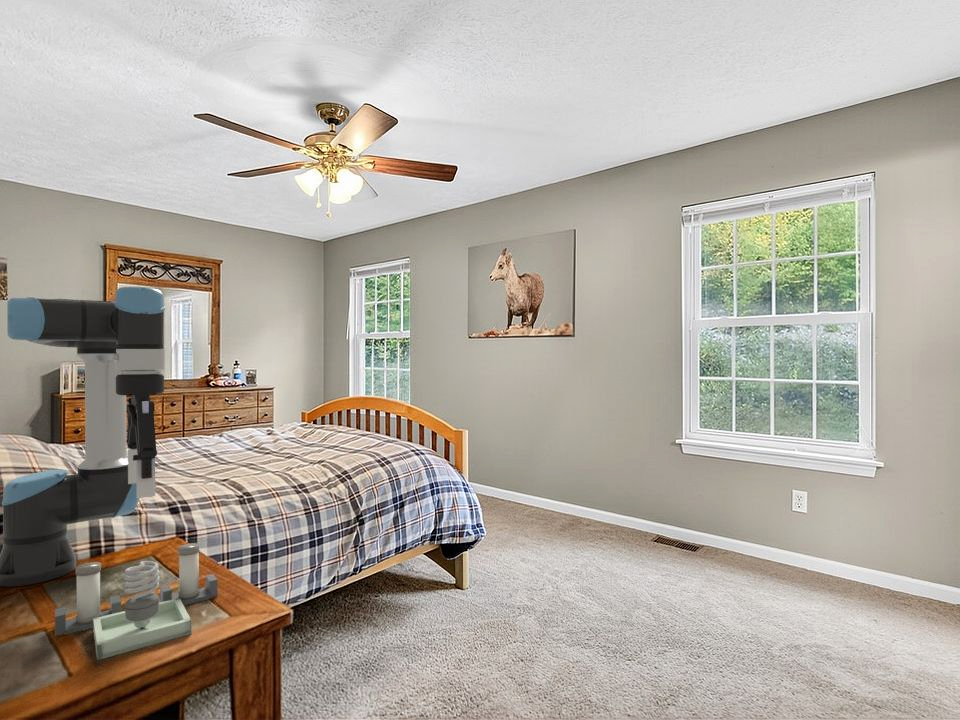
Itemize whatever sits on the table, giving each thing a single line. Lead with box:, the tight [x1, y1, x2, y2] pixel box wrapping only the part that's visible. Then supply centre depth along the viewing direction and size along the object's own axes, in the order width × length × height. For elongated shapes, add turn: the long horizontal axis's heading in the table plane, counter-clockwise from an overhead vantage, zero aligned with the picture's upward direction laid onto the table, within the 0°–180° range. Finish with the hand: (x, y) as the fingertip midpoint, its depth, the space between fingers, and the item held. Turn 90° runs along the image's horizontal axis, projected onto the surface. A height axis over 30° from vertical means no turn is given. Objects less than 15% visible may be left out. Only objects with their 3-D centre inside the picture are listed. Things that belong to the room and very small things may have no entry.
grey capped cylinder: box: [177, 542, 200, 600], centre depth 114 cm, size 4×4×10 cm
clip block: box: [54, 573, 218, 637], centre depth 109 cm, size 5×27×4 cm, turn 128°
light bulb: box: [123, 560, 161, 629], centre depth 100 cm, size 6×6×12 cm
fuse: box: [75, 561, 102, 625], centre depth 103 cm, size 4×4×10 cm
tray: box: [92, 598, 192, 661], centre depth 100 cm, size 12×14×2 cm
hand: (141, 489), depth 100 cm, fingers open, 13 cm apart
